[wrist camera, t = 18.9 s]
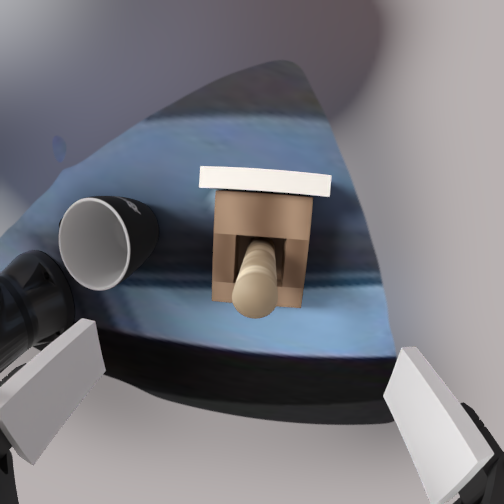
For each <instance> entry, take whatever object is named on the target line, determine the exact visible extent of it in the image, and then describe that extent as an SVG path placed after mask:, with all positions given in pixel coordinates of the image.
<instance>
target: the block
mask: <svg viewBox="0 0 504 504" xmlns="http://www.w3.org/2000/svg"><path fill="white" fill-rule="evenodd" d="M312 205H313V197H308V196H300V195H288V194H276V193H263V192H248V191H231V190H217V191H216V195H215V215H214V238H213V268H212V301H219V302H230V303H233V302H232V292H233V289H234V286H235V283H236V280H237V277H238V274H239V271H240V268H241V265H242V263H243V260H244V257H245V254H246V251H247V248H248V245H249V242H250V241H251V240H252V239H253V238H254V237H256V236H260V237H269V238H270V239H271V240H272V241H273V243H274V246H275V260H276V275H277V291H278V301H277V305H276V306H279V307H294V308H301V303H302V296H303V289H304V281H305V273H306V264H307V256H308V246H309V237H310V227H311V216H312Z"/></svg>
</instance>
